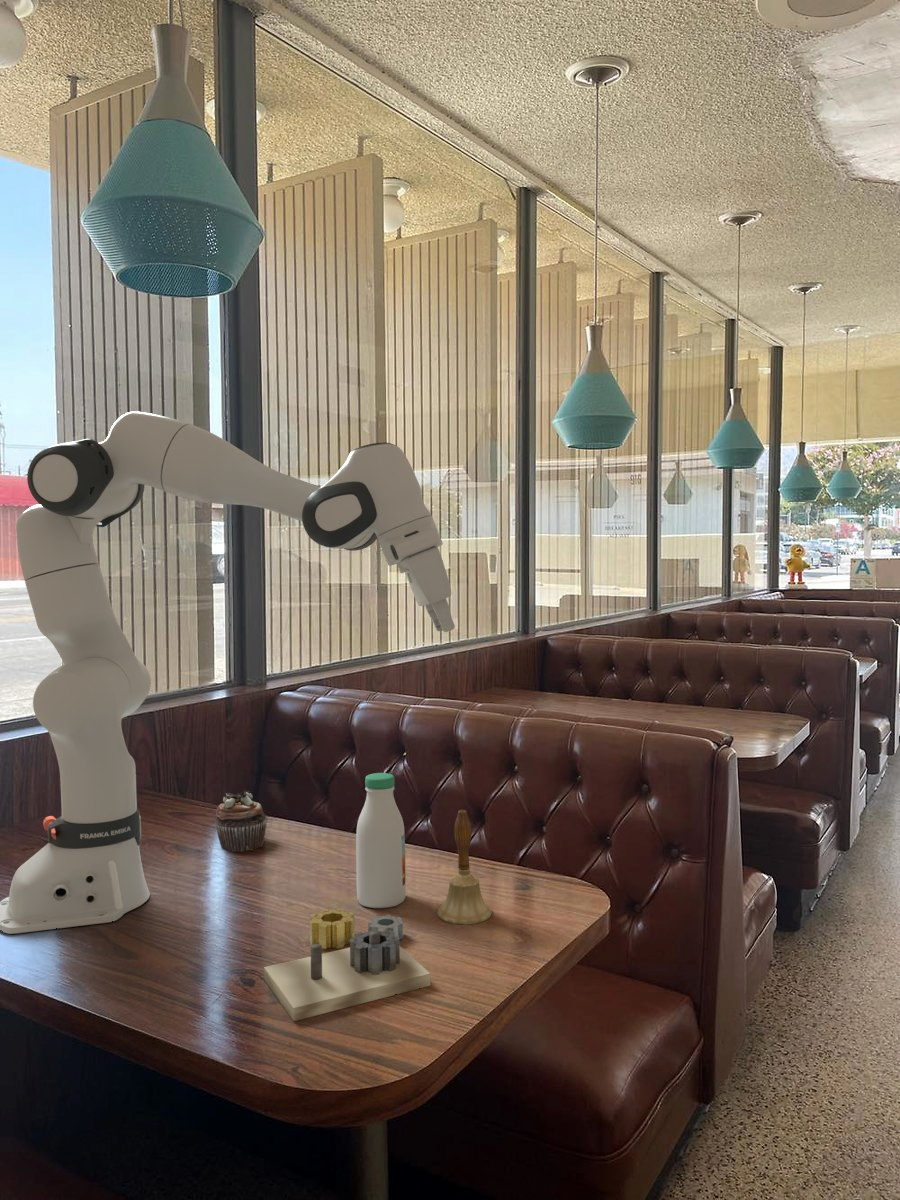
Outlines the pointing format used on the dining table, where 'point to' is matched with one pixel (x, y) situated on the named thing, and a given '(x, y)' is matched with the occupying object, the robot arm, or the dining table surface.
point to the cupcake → (240, 822)
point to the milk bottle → (380, 846)
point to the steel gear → (374, 952)
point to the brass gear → (332, 928)
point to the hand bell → (464, 883)
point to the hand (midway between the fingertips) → (446, 630)
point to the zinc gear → (388, 925)
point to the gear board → (338, 981)
